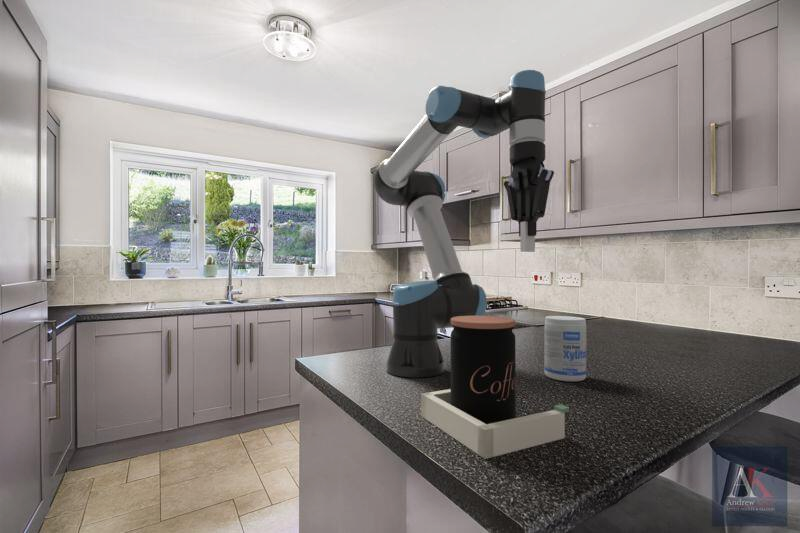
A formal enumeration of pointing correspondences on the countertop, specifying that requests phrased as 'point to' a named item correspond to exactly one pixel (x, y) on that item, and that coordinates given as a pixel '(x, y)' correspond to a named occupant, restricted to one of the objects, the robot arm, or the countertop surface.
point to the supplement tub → (565, 348)
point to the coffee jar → (483, 367)
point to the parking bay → (492, 426)
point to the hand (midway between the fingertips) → (527, 251)
